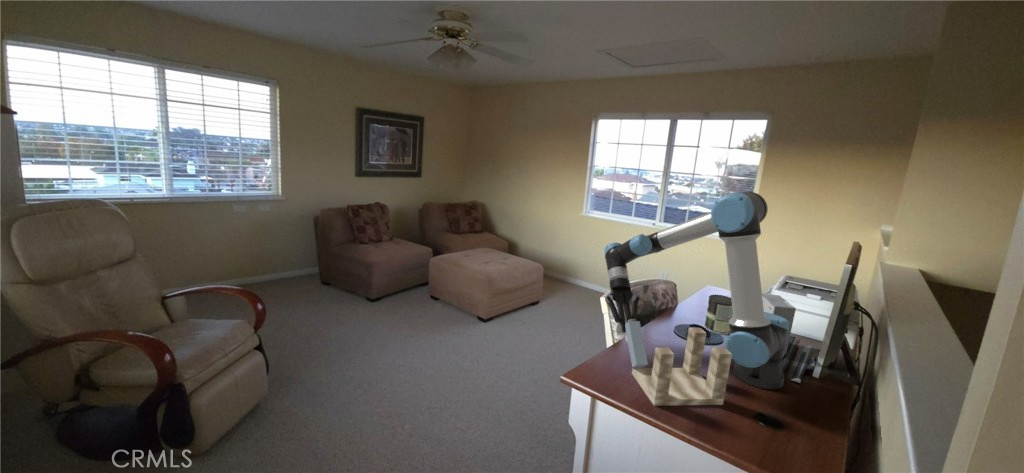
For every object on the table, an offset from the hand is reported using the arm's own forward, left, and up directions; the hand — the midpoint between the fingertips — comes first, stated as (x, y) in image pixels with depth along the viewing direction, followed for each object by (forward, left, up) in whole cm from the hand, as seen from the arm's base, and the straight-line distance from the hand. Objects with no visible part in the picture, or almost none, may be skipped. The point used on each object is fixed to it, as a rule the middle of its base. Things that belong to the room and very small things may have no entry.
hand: (629, 341), depth 150 cm
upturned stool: (-10, +17, -8) cm, 21 cm away
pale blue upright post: (-1, +9, -4) cm, 10 cm away
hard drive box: (-63, -11, -8) cm, 64 cm away
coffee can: (-51, -27, -8) cm, 58 cm away
